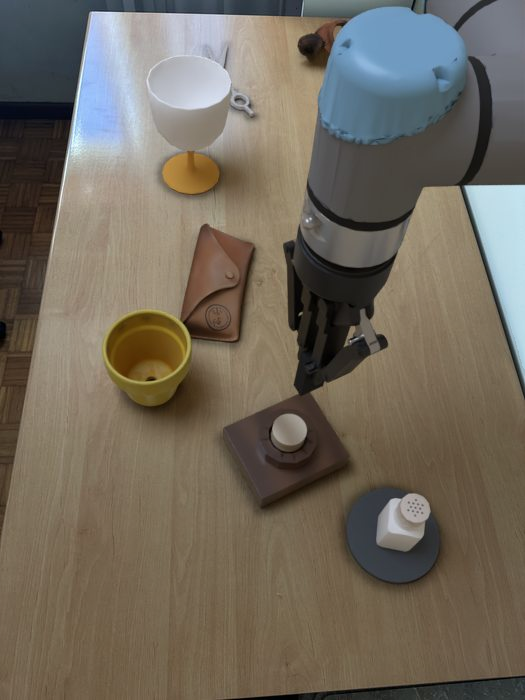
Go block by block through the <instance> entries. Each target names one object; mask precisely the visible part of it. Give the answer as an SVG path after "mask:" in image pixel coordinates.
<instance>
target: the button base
mask: <svg viewBox="0 0 525 700" xmlns="http://www.w3.org/2000/svg"><path fill="white" fill-rule="evenodd" d="M283 414H294V415H297V416H299V417H300V418H301V419H302V420H303V421H304V422H305V424H306V427H307V434H306V437H305V440H304V443H303V445H302V446H301V447H300V448H299V449H298V450H296V451H294V452H284V451H281V450H279V449H278V448H276V447H275V445H274V444H273V442H272V440H271V432H272V427H273V423H274V421H275V420H276V419H277V418H278V417H279V416H281V415H283ZM221 436H222V440H223V442H224V444H225V445H226V447H227V449H228V451H229V454H230V455H231V457H232V459H233V461H234V462H235V464H236V466H237V468H238V470H239V472H240V474H241V475H242V477H243V479H244V481H245V483H246V485H247V486H248V489H249V490H250V492H251V494H252V497H253V498H254V499H255V501H256V503H257V505H258V507H259V508H263V507H265V506H267V505H269V504H271V503H273V502H276V501H277V500H279V499H281V498H283V497H285V496H287V495H289V494H291V493H293V492H295V491H297V490H299V489H301V488H303V487H305V486H307V485H309V484H311V483H313V482H315V481H316V480H318V479H321V478H323V477H325V476H327V475H330V474H331V473H333V472H335V471H337V470H339V469H341V468H343V467H344V466H346V465H347V463H348V461H349V460H350V457H351V455H350V454H349V452H348V450H347V449H346V447H345V445H344V444H343V442H342V441H341V438H339V436H338V435H337V433H336V431H335V430H334V428H333V426H332V425H331V424H330V422H329V420H328V419H327V417H326V415H325V413H324V412H323V411H322V409H321V407H320V406H319V404H318V402H317V401H316V399H315V397H314V396H313V394H312V393H311V392H309V393H307V394H305V395H303V396H300V395H299V393H298V394H295V395H293V396H291V397H288V398H286V399H284V400H282V401H280V402H278V403H275V404H273V405H271V406H269V407H266V408H264V409H262V410H259V411H257V412H254V413H253V414H250V415H248V416H246V417H243V418H241V419H239V420H237V421H235V422H233V423H230V424H228V425H225V426H224V427H223V428H222V435H221Z"/></svg>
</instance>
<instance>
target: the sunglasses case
mask: <svg viewBox="0 0 525 700" xmlns="http://www.w3.org/2000/svg"><path fill="white" fill-rule="evenodd" d="M254 248H255V243H253V242H249V241H244V240H241V239H239V238H237V237H234V236H233V235H230V234H228V233H226V232H223V231H222V230H219V229H216V228H214V227H212V226H210V224H209V223H207V222H205V223H203V224H202V225H201V226H200V228H199V233H198V235H197V239H196V243H195V248H194V252H193V256H192V259H191V260H192V261H191V265H190V270H189V273H188V279H187V283H186V284H187V285H186V288H185V291H184V297H183V301H182V307H181V311H180V318H179V320H180V321H181V322H182V323H183V324H184V325H185V327H186V328H187V330H188V332H189V334H190V337H191V339H192V338H193V339H199V340H207V341H216V342H227V343H233V342H237V341H238V340H239V338H240V337H239V336H240V327H241V325H240V324H241V311H242V303H243V298H244V291H245V286H246V281H247V275H248V271H249V266H250V262H251V258H252V255H253V251H254Z"/></svg>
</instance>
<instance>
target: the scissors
mask: <svg viewBox="0 0 525 700" xmlns="http://www.w3.org/2000/svg"><path fill="white" fill-rule="evenodd" d="M205 45H206V48H207V53H208V57H209V58H208V59H210V60H212V61H215V62H217V60H216V59H215V56H214V54H213V53H212V50H211V49H210V47H209V45H208V43H207V42H205ZM227 50H228V43H226V44H225V47H224V49H223V50H222V51H223V52H222V54H221V56H220V59H219V60H218V63H219V64H220V65H221V66H222V67H223V68H224V67H225V62H226V57H227V56H226V55H227ZM236 99H241V100H243V101H244V102H245V103H244V104H238V103H237V102H236V101H235V100H236ZM230 105H231V107H233V108H234V109H236V110H238V111H239V110H240V111H245V112H246V113H247V114H248V116H249V117H251V118H252V117H254V116H255V115H254V114H255V112H254V110H253V109H251V108H250V99H249V97H248V96H247V95H246V94H244V93H241V92H238V91H236V90H234V86H232V90H231V100H230Z"/></svg>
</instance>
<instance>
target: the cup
mask: <svg viewBox="0 0 525 700" xmlns="http://www.w3.org/2000/svg"><path fill="white" fill-rule="evenodd" d="M232 81H233V80H232V78H231V76H230V74H229V72H228V71H227V70H226V69H225V68H224V67H222V66H221V65H220V64H219V62H217V61H216V62H215V61H212V60H210V58H208V57H206V56H200V55H194V54H184V55H173V56H170V57H168V58H165V59H163V60H160V61H158V62H157V63H156V64H154V66H153V67H151V68H150V70H149V72H148V74H147V77H146V80H145V82H146V83H145V84H146V92H147V98H148V103H149V107H150V112H151V116H152V119H153V124H154V126H155V128H156V130H157V133H158V134H159V135H161V137H162V138H163V139H164V140H165V141H166V142H167V143H168V144H169V145H170V146H171V147H175V148H176V149H178V150H181V151H186V152H185V153H184V152H183V153H179V154H177V155H174V156H172V157H170V159H168V160H167V161H166V162H165V163H164V165H163V168H162V172H161V174H162V178H163V182H164V183H165V184H166V185H167V186H168V187H169V188H170V189H172V190H174V191H176V192H178V193H180V194H185V195H198V194H203V193H206V192H207V191H209V190H211V189H213V188H214V187H215V186H216V184H217V183H219V180H220V179H219V178H220V174H221V173H220V171H219V170H220V169H219V167H218V164H217V163H216V162H214V160H213V159H212V158H210V157H208V156H206V155H204V154H202V153H195V151H201V150H203V149H206V148H209V147H210V146H212V144H213V143H214V142H215V141H216V140H217V139H218V138H219V137H220V136H221V135H222V134H223V131H224V128H225V126H226V123H227V119H228V115H229V109H230V105H231V104H230V100H231V97H232V93H231V90H232V87H233V82H232Z"/></svg>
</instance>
